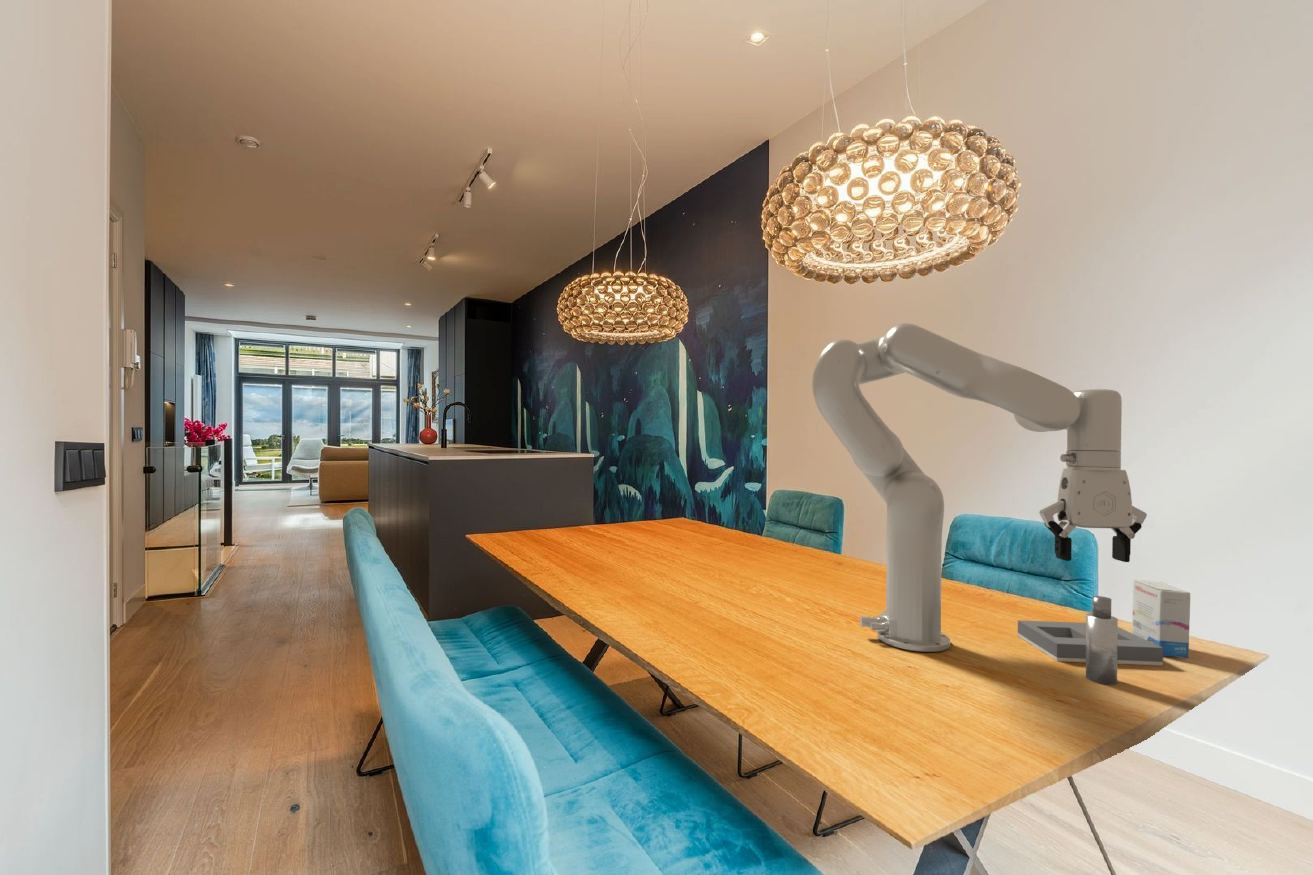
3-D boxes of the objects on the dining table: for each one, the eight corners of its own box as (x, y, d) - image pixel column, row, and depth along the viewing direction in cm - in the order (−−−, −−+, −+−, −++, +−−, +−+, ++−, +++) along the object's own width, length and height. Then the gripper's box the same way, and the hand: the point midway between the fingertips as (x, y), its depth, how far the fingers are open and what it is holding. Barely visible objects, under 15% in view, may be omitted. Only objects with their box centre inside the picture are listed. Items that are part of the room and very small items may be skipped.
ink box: (1191, 658, 103) (1192, 591, 103) (1158, 656, 104) (1159, 589, 104) (1160, 642, 111) (1161, 579, 111) (1130, 640, 112) (1130, 578, 112)
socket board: (1056, 660, 101) (1057, 643, 101) (1017, 635, 114) (1017, 620, 114) (1162, 665, 100) (1163, 647, 100) (1111, 639, 113) (1111, 623, 113)
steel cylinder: (1095, 684, 92) (1096, 600, 92) (1079, 673, 96) (1080, 594, 96) (1123, 685, 91) (1124, 601, 91) (1106, 675, 95) (1106, 595, 95)
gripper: (1055, 461, 98) (1054, 563, 98) (1162, 462, 98) (1161, 565, 98) (1029, 459, 106) (1028, 554, 106) (1128, 461, 105) (1127, 556, 105)
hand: (1092, 559), depth 102 cm, fingers open, 9 cm apart
